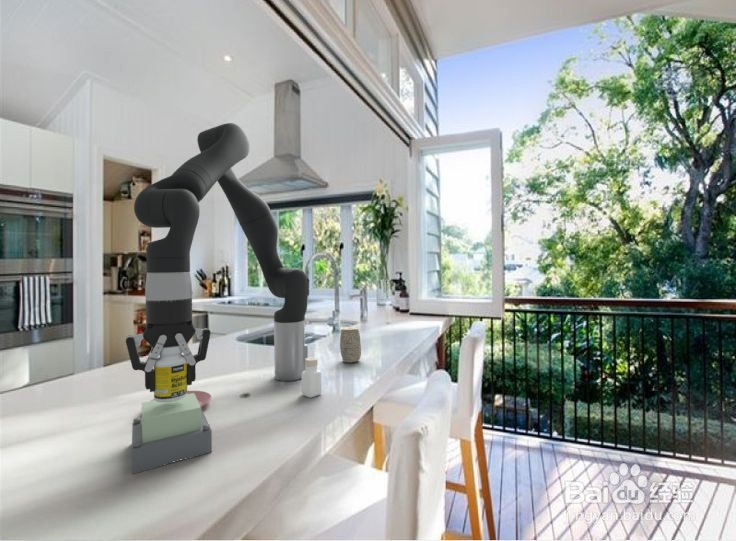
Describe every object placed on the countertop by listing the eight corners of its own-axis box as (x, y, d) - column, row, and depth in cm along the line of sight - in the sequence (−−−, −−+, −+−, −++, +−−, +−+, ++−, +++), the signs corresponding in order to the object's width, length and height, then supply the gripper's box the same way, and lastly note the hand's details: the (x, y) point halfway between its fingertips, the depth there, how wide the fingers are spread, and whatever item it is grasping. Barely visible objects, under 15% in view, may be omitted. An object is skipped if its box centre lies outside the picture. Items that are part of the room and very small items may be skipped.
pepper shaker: (300, 395, 91) (300, 359, 91) (313, 391, 94) (312, 356, 94) (310, 398, 89) (309, 361, 89) (322, 394, 92) (322, 358, 92)
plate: (167, 398, 91) (167, 390, 91) (221, 398, 90) (221, 390, 90) (127, 422, 76) (127, 413, 76) (191, 422, 76) (191, 413, 76)
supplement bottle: (173, 404, 62) (172, 349, 62) (146, 402, 63) (146, 348, 63) (194, 393, 67) (193, 342, 67) (169, 391, 68) (168, 341, 68)
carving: (339, 359, 127) (339, 326, 126) (360, 358, 127) (360, 326, 127) (340, 364, 120) (339, 329, 120) (361, 363, 121) (361, 329, 121)
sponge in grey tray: (201, 427, 73) (201, 389, 73) (211, 452, 63) (211, 408, 63) (132, 443, 67) (132, 401, 67) (132, 474, 57) (131, 425, 57)
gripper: (207, 293, 72) (209, 375, 72) (122, 297, 64) (124, 389, 64) (214, 296, 66) (216, 385, 66) (121, 300, 58) (123, 402, 58)
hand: (170, 387), depth 65 cm, fingers closed on supplement bottle, 5 cm apart
